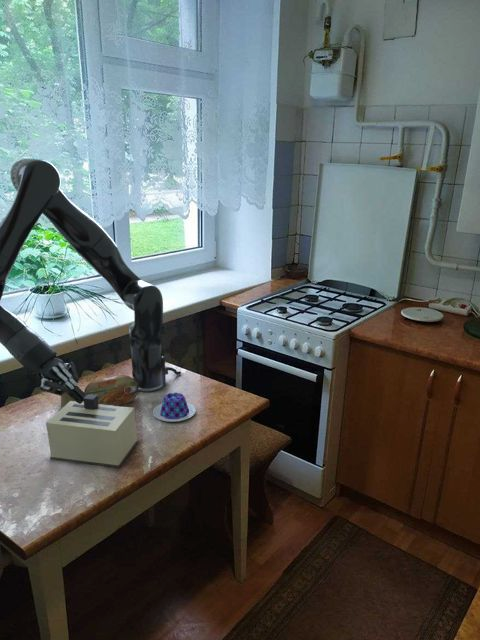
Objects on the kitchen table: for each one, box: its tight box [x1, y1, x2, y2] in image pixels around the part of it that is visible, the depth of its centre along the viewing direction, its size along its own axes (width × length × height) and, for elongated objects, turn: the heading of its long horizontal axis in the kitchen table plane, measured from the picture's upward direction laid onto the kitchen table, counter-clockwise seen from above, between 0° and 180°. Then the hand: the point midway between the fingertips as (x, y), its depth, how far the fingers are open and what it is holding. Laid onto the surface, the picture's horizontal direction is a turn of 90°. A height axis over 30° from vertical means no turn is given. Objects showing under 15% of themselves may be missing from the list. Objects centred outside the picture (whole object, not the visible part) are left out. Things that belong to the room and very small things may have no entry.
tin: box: [83, 374, 139, 406], centre depth 143 cm, size 15×3×8 cm, turn 117°
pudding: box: [152, 392, 197, 422], centre depth 140 cm, size 12×12×5 cm
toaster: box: [45, 401, 139, 469], centre depth 121 cm, size 13×17×10 cm
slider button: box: [83, 394, 99, 410], centre depth 121 cm, size 2×3×3 cm
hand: (83, 400), depth 122 cm, fingers closed
